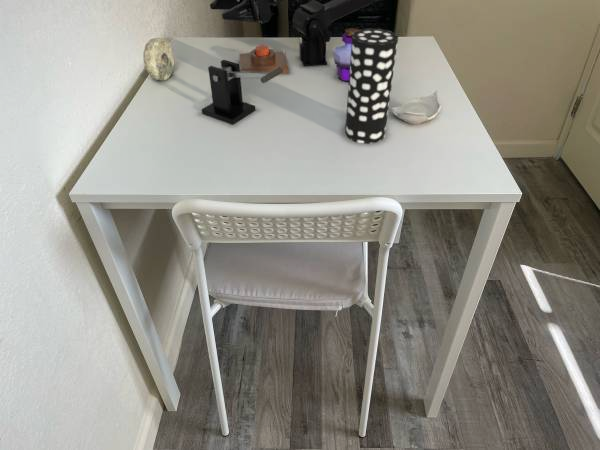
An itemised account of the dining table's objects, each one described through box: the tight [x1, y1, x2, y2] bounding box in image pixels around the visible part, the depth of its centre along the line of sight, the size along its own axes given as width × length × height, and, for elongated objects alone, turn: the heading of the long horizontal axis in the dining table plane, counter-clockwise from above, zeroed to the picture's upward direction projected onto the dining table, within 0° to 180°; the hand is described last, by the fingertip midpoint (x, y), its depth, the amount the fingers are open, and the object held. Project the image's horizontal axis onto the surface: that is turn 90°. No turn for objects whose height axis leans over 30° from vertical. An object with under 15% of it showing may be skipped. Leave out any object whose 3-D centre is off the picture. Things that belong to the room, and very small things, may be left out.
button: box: [254, 44, 270, 56], centre depth 119 cm, size 4×4×2 cm
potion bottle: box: [332, 27, 359, 83], centre depth 113 cm, size 9×9×12 cm
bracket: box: [201, 59, 256, 125], centre depth 100 cm, size 9×8×11 cm
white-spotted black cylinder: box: [344, 28, 399, 145], centre depth 90 cm, size 8×8×20 cm
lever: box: [219, 66, 283, 84], centre depth 94 cm, size 15×6×2 cm, turn 56°
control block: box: [238, 48, 289, 75], centre depth 121 cm, size 12×10×4 cm
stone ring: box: [143, 37, 175, 82], centre depth 114 cm, size 10×4×10 cm, turn 160°
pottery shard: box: [391, 90, 442, 125], centre depth 98 cm, size 10×11×5 cm
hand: (216, 11), depth 106 cm, fingers open, 9 cm apart
